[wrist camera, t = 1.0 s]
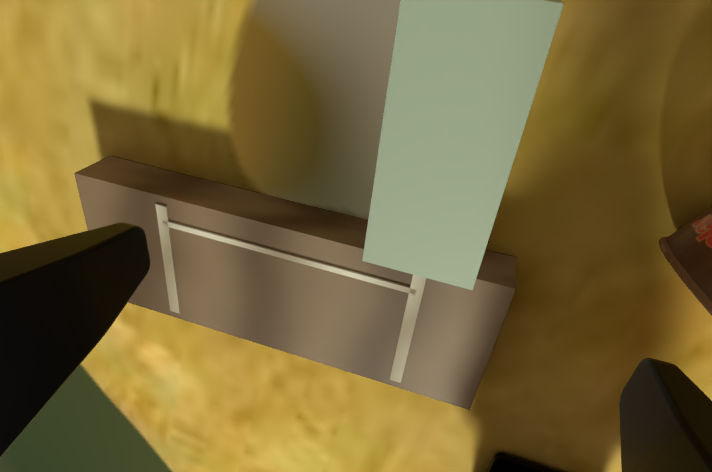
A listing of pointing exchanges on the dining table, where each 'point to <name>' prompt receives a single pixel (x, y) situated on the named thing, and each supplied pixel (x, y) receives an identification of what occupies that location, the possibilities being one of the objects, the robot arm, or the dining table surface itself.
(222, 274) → the walnut board
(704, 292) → the tin
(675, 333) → the dining table surface
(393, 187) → the block
